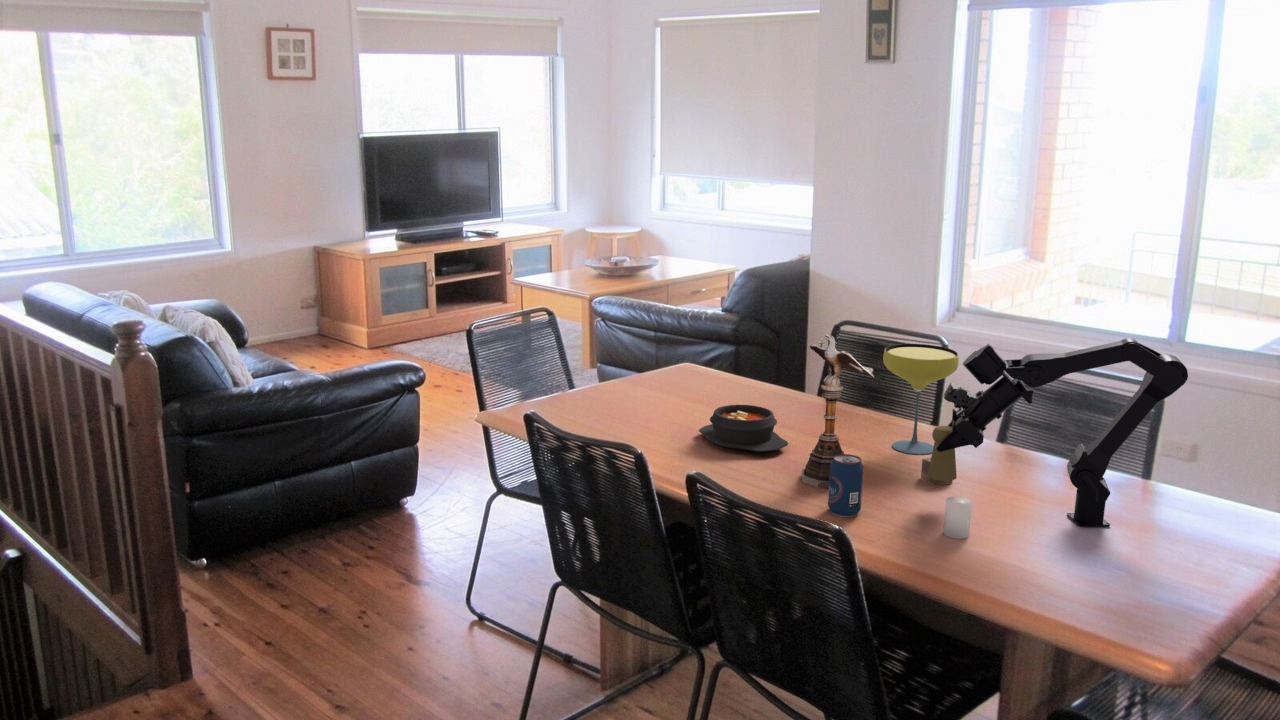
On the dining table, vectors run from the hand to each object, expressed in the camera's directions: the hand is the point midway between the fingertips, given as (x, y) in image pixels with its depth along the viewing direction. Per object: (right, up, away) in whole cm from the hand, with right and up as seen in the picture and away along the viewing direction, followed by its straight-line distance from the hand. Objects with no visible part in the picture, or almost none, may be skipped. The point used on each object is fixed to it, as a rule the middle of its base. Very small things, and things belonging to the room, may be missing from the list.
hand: (937, 446), depth 225 cm
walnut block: (+5, -10, +18) cm, 21 cm away
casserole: (-37, -3, +43) cm, 57 cm away
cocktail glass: (+6, -4, +42) cm, 42 cm away
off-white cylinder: (0, -17, -12) cm, 21 cm away
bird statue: (-19, -9, +20) cm, 29 cm away
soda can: (-20, -14, -2) cm, 25 cm away
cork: (+1, -7, +1) cm, 7 cm away
